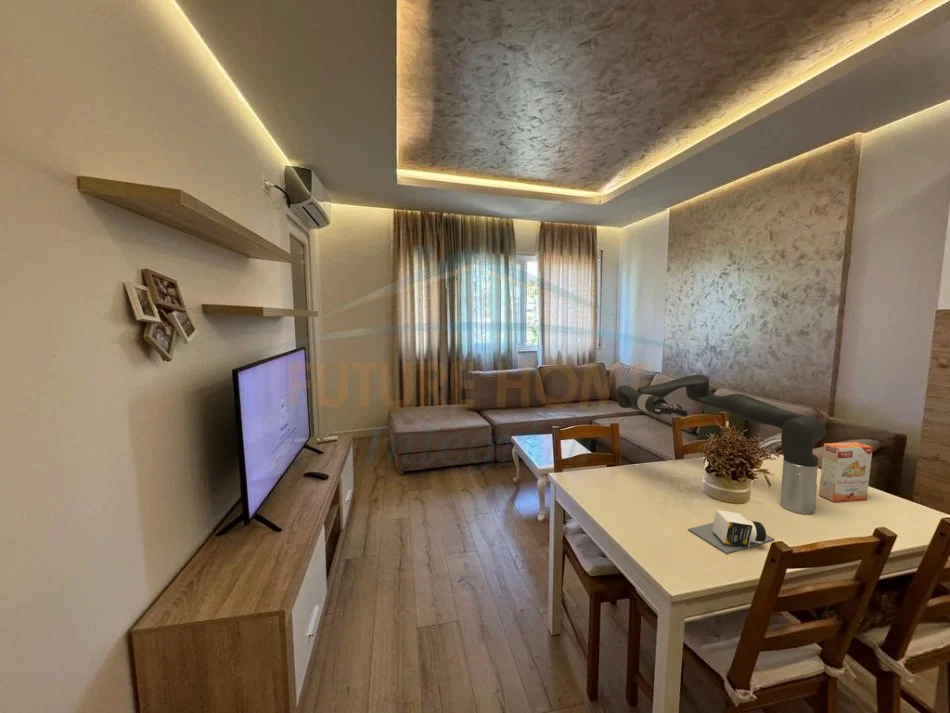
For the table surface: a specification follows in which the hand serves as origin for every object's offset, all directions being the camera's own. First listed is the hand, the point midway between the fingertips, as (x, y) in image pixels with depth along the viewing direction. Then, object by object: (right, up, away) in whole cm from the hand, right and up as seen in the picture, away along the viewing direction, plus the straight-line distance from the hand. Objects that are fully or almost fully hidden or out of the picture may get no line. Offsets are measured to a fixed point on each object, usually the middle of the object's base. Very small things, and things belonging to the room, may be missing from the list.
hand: (685, 413), depth 142 cm
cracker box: (+58, -32, -3) cm, 66 cm away
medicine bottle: (-6, -30, -29) cm, 42 cm away
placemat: (0, -35, -25) cm, 43 cm away
